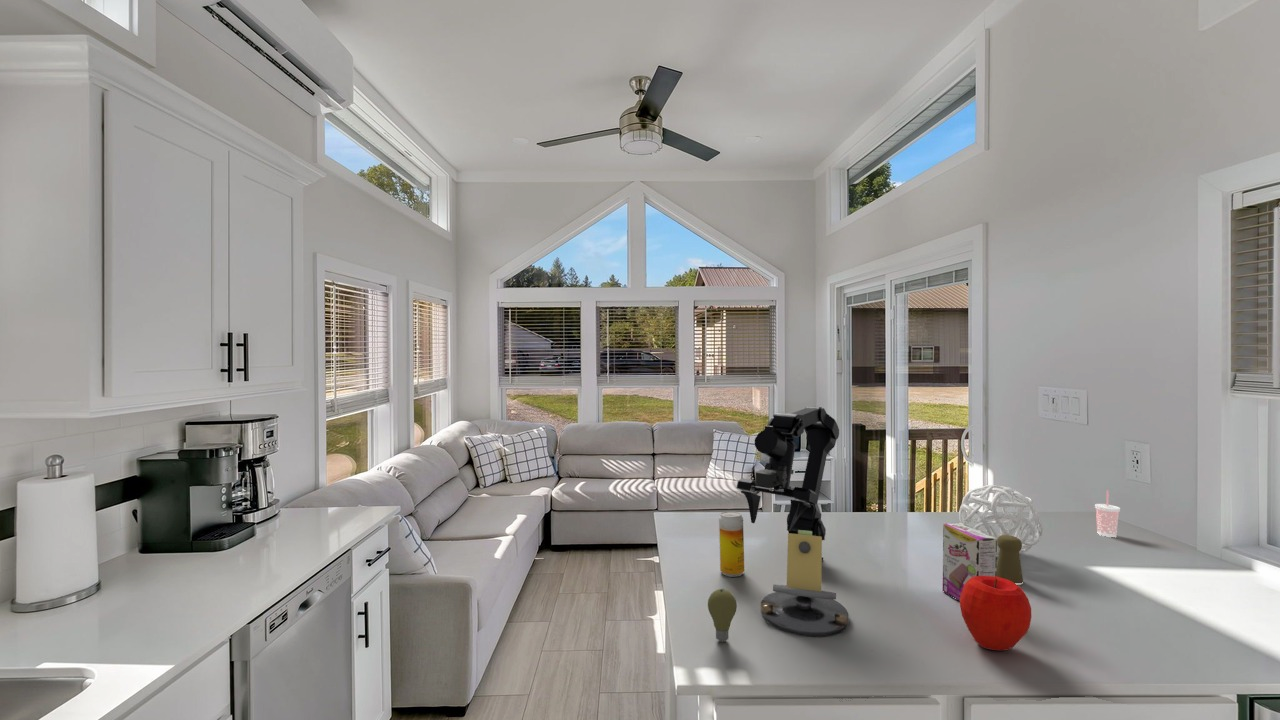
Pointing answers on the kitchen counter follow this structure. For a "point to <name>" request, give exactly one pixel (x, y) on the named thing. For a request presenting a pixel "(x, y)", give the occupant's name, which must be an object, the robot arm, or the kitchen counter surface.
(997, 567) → the brown rounded upright piece
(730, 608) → the light bulb
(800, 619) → the base
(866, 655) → the kitchen counter surface
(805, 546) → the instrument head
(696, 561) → the kitchen counter surface
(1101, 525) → the beverage cup
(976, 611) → the apple
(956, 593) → the candy bar box
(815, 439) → the robot arm
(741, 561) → the beer can
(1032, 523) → the decorative ball
